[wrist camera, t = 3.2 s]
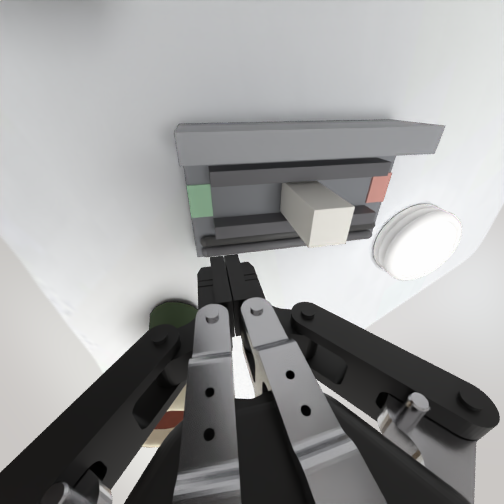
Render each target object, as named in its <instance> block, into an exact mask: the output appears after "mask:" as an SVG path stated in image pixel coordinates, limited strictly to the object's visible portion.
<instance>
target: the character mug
mask: <svg viewBox="0 0 504 504" xmlns="http://www.w3.org/2000/svg"><path fill="white" fill-rule="evenodd" d="M197 312H198V309H196V308H194V307H193V306H191V305H189V304H184V303H179V302H166V303H164V304H161V305H159V306H157V307H156V308H155V309H154V310H153V311H152V312H151V313H150V323H149V330H150V329H151V328H153V327H155V326H157V325H161V324H170V325H173V326H175V327H176V328H179V327H181V326H184V325H186V324H188V323H189V322H191V321H192V320H193V319H194V318H195V317H196V314H197ZM186 384H187V383H186ZM185 394H186V385H185V386H184V388H183V389H182V391H181V392H180V393H179V395H178V396H177V398H176V399H175V400H174V402H173V403H172V405H171V406H170V408H169V409H168V410H167V412H166V413H165V415H164V416H163V417H162V419H161V420H160V422H159V423H158V424H157V426H156V427H155V429H154V430H153V431H152V433H151V434H150V436H149V437H148V438H147V440H146V441H145V443H144V444H143V445H142V447H149V448H150V447H160V445H161V444H162V442H163V441H164V439H165V438H166V437H167V435H168V434H169V433H170V432H171V431H172V430H173V429H174V427H175V426H177V425H178V424H179V423H180V422H181V421H182V420H183V415H184V405H185Z"/></svg>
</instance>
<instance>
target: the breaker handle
mask: <svg viewBox="0 0 504 504" xmlns="http://www.w3.org/2000/svg"><path fill="white" fill-rule="evenodd" d="M354 209H355V206H353V205H352V204H350V203H349V202H347V201H346V200H344V199H343V198H341V197H340V196H338V195H337V194H336V193H334V192H333V191H331V190H330V189H328V188H327V187H325V186H324V185H322V184H321V183H319V182H318V181H302V182H287V183H282V190H281V204H280V211H281V213H282V214H283V215H284V217H285V218H286V219H287V221H288V222H289V223H290V224H291V226H292V227H293V228H294V230H295V231H296V232H297V234H298V235H299V236H300V238H301V239H302V240H303V241H304V243H305V244H306V245H307V247H308V248H314V247H322V246H331V245H340V244H346V240H347V236H348V232H349V228H350V224H351V221H352V217H353V213H354Z"/></svg>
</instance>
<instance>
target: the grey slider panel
mask: <svg viewBox="0 0 504 504" xmlns="http://www.w3.org/2000/svg"><path fill="white" fill-rule="evenodd" d="M444 128H445V126H443V125H435V124H426V123H417V122H408V121H399V120H346V121H296V122H246V123H195V124H178V126H177V128H176V130H175V132H174V135H175V141H176V148H177V154H178V160H179V166H184V172H185V178H186V185H187V192H188V199H189V205H190V212H191V218H192V224H193V230H194V237H195V243H196V250H197V256H198V257H203V256H204V257H212V256H221V255H230V254H238V253H247V252H256V251H264V250H273V249H282V248H290V247H299V246H307V245H306V244H305V243H304V241H303V240H302V239H301V238H300V236H299V235H298V234H297V232H296V231H295V230H294V228H293V227H292V226H291V224H290V223H289V222H288V221H287V219H286V218H285V217H284V215H283V214H282V213H281V211H280V204H281V190H282V183H287V182H302V181H318V182H319V183H321V184H322V185H324V186H325V187H327V188H328V189H330V190H331V191H333V192H334V193H336V194H337V195H338V196H340V197H341V198H343V199H344V200H346V201H347V202H349V203H350V204H352V205H353V206H355V209H354V213H353V217H352V221H351V224H350V228H349V232H348V236H347V240H346V241H351V240H360V239H368V238H370V237H371V236H372V231H373V228H374V227H375V221H376V218H377V215H378V211H379V208H380V205H381V202H383V200H384V197H385V194H386V191H387V187H388V184H389V181H390V178H391V175H392V173H391V170H392V167H393V163H394V160H395V157H396V156H397V155H417V154H435V151H436V149H437V146H438V143H439V141H440V138H441V136H442V133H443V131H444Z"/></svg>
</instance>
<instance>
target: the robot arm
mask: <svg viewBox="0 0 504 504" xmlns="http://www.w3.org/2000/svg"><path fill="white" fill-rule="evenodd" d="M210 261H211V267H203V268H201V269H200V271H199V272H198V274H197V277H198V312H197V314H196V317H195V318H194V319H193V320H192V321H191V322H189V323H188V324H186V325H184V326H181V327H179V328H176V327H175V326H173V325H170V324H161V325H157V326H155V327H153V328H151V329H150V330H149V331H147V332H146V333H145V334H144V335H143V336H142V337H141V338H140V339H139V340H138V341H137V342H136V343H135V344H134V345H133V346H132V347H131V348H130V349H129V350H128V351H127V352H125V353H124V354H123V355H122V356H121V357H120V358H119V359H118V360H117V361H116V362H115V363H114V364H113V365H112V366H111V367H110V368H109V369H108V370H107V371H106V372H105V373H104V374H103V375H101V376H100V377H99V378H98V379H97V380H96V381H95V382H94V383H93V384H92V385H91V386H90V387H89V388H88V389H87V390H86V391H85V392H84V393H83V394H82V395H81V396H80V397H79V398H78V399H76V400H75V401H74V402H73V403H72V404H71V405H70V406H69V407H68V408H67V409H66V410H65V411H64V412H63V413H62V414H61V415H60V416H59V417H58V418H57V419H56V420H55V421H54V422H52V423H51V424H50V425H49V426H48V427H47V428H46V429H45V430H44V431H43V432H42V433H41V434H40V435H39V436H38V437H37V438H36V439H35V440H34V441H33V442H32V443H31V444H30V445H29V446H27V447H26V449H24V450H23V451H22V452H21V453H20V454H19V455H18V456H17V457H16V458H15V459H14V460H13V461H12V462H11V463H10V464H9V465H8V466H7V467H6V468H5V469H3V470H2V471H1V472H0V504H112V494H111V489H112V487H113V486H114V484H115V483H116V482H117V480H118V479H119V478H120V476H121V475H122V473H123V472H124V471H125V469H126V468H127V466H128V465H129V464H130V462H131V460H132V459H133V458H134V456H135V455H136V454H137V452H138V451H139V450H140V448H141V447H142V445H143V444H144V443H145V441H146V440H147V438H148V437H149V436H150V434H151V433H152V431H153V430H154V429H155V427H156V426H157V424H158V423H159V422H160V420H161V419H162V417H163V416H164V415H165V413H166V412H167V410H168V409H169V408H170V406H171V405H172V403H173V402H174V400H175V399H176V398H177V396H178V395H179V393H180V392H181V391H182V389H183V388H184V386H185V385H186V394H185V405H184V415H183V420H182V421H181V422H180V423H179V424H178V425H177V426H175V427H174V429H173V430H172V431H171V432H170V433H169V434H168V435H167V437H166V438H165V439H164V441H163V442H162V444H161V445H160V447H159V448H158V450H157V451H156V453H155V455H154V456H153V458H152V460H151V461H150V463H149V464H148V466H147V468H146V469H145V471H144V472H143V474H142V475H141V477H140V479H139V480H138V482H137V484H136V485H135V487H134V488H133V490H132V492H131V493H130V495H129V496H128V498H127V499H126V501H125V503H124V504H474V488H475V458H476V442H477V441H478V440H479V439H480V438H481V437H483V436H484V435H485V434H486V433H488V432H489V431H490V430H491V429H493V428H494V427H495V426H496V425H497V424H498V423H499V420H500V419H499V418H500V416H499V412H498V410H497V408H496V406H495V404H494V403H493V402H492V401H491V399H490V398H489V397H488V396H487V395H486V394H485V393H484V392H482V391H481V390H480V389H478V388H477V387H475V386H474V385H472V384H470V383H468V382H466V381H464V380H462V379H460V378H458V377H456V376H454V375H452V374H451V373H449V372H447V371H444V370H443V369H441V368H439V367H437V366H434V365H433V364H431V363H429V362H427V361H425V360H423V359H421V358H419V357H417V356H415V355H413V354H411V353H409V352H407V351H405V350H403V349H401V348H399V347H398V346H396V345H394V344H392V343H390V342H388V341H386V340H384V339H382V338H380V337H378V336H376V335H374V334H372V333H370V332H368V331H366V330H364V329H362V328H360V327H358V326H356V325H354V324H352V323H350V322H349V321H347V320H345V319H343V318H341V317H339V316H337V315H335V314H333V313H331V312H329V311H327V310H325V309H323V308H321V307H319V306H317V305H315V304H313V303H309V302H300V303H297V304H296V305H294V306H293V308H292V310H289V309H280V308H276V307H274V306H272V305H271V304H270V302H269V301H267V300H266V299H265V296H264V294H263V291H262V288H261V286H260V283H259V280H258V277H257V275H256V272H255V269H254V267H253V266H252V265H251V264H250V263H249V262H243V263H240V261H239V258H238V255H237V254H234V255H226V256H224V257H223V256H218V257H210ZM224 261H225V262H224ZM234 328H235V333H236V336H240V335H241V338H242V346H243V353H244V356H245V360H246V363H247V366H248V370H249V373H250V377H251V380H252V384H253V387H254V392H255V398H253V399H236V398H235V391H234V377H233V363H232V348H233V345H232V337H235V333H234ZM316 379H317V380H318V381H320V382H321V383H323V384H324V385H325V386H327V387H328V388H330V389H331V390H333V391H334V392H336V393H337V394H338V395H340V396H341V397H343V398H344V399H346V400H347V401H348V402H350V403H351V404H353V405H354V406H356V407H357V408H359V409H360V410H362V411H363V412H364V413H366V414H368V415H369V416H370V417H371V418H373V419H374V420H376V421H377V422H378V426H379V428H380V431H381V432H382V434H383V435H382V434H381V433H380V432H378V431H377V430H376V429H374V428H373V427H372V426H370V425H369V424H368V423H366V422H365V421H364V420H362V419H361V418H360V417H358V416H357V415H356V414H355V413H353V412H352V411H350V410H349V409H348V408H346V407H345V406H344V405H343V404H341V403H340V402H338V401H337V400H336V399H334V398H332V397H331V396H329V395H327V394H325V393H323V392H322V390H321V388H320V386H319V384H318V383H317V380H316ZM186 383H187V384H186Z"/></svg>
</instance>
